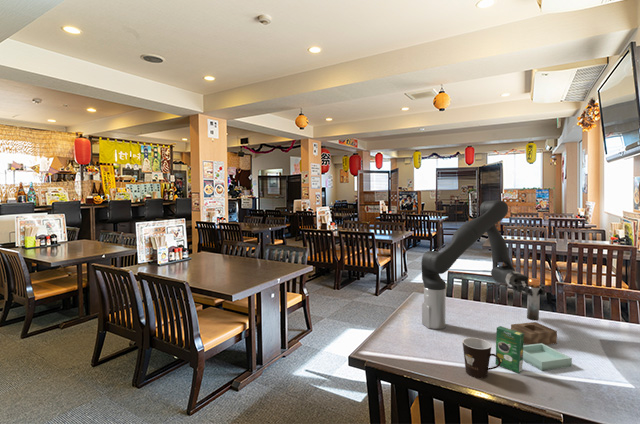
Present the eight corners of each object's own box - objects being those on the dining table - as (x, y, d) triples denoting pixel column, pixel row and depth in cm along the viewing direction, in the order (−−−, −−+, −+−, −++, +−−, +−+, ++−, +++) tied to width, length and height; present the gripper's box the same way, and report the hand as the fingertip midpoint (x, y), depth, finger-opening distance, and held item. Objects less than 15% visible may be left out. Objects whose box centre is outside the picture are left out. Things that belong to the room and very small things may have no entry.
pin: (532, 320, 133) (533, 280, 133) (524, 317, 137) (525, 278, 137) (541, 320, 134) (542, 280, 133) (532, 316, 138) (534, 277, 137)
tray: (541, 370, 112) (541, 362, 112) (513, 354, 124) (514, 346, 124) (571, 366, 114) (571, 358, 114) (541, 351, 126) (541, 343, 126)
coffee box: (524, 371, 112) (524, 332, 111) (519, 374, 110) (520, 334, 109) (499, 362, 118) (499, 325, 118) (495, 364, 117) (495, 327, 116)
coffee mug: (457, 367, 115) (457, 338, 114) (481, 366, 116) (482, 337, 115) (475, 386, 103) (476, 354, 103) (502, 384, 104) (503, 352, 104)
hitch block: (530, 346, 130) (530, 334, 130) (510, 336, 140) (511, 324, 139) (556, 343, 132) (556, 331, 132) (535, 333, 142) (535, 321, 142)
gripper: (501, 272, 150) (518, 282, 133) (535, 273, 148) (557, 283, 131) (500, 289, 150) (517, 300, 133) (535, 290, 148) (556, 302, 131)
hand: (537, 292), depth 132 cm, fingers closed on pin, 4 cm apart
